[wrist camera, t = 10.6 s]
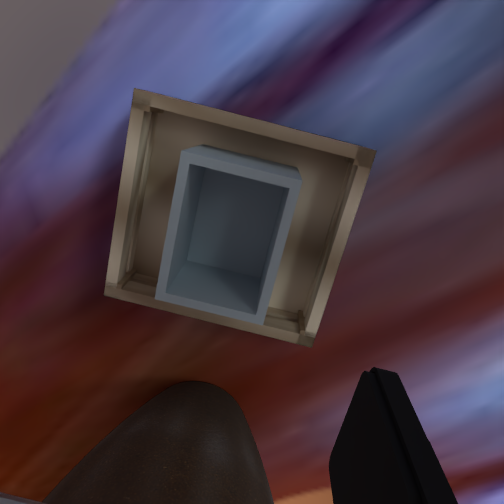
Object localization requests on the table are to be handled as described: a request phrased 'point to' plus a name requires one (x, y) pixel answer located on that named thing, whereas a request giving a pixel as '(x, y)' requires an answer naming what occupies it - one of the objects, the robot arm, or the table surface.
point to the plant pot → (173, 455)
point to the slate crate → (227, 232)
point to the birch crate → (253, 144)
